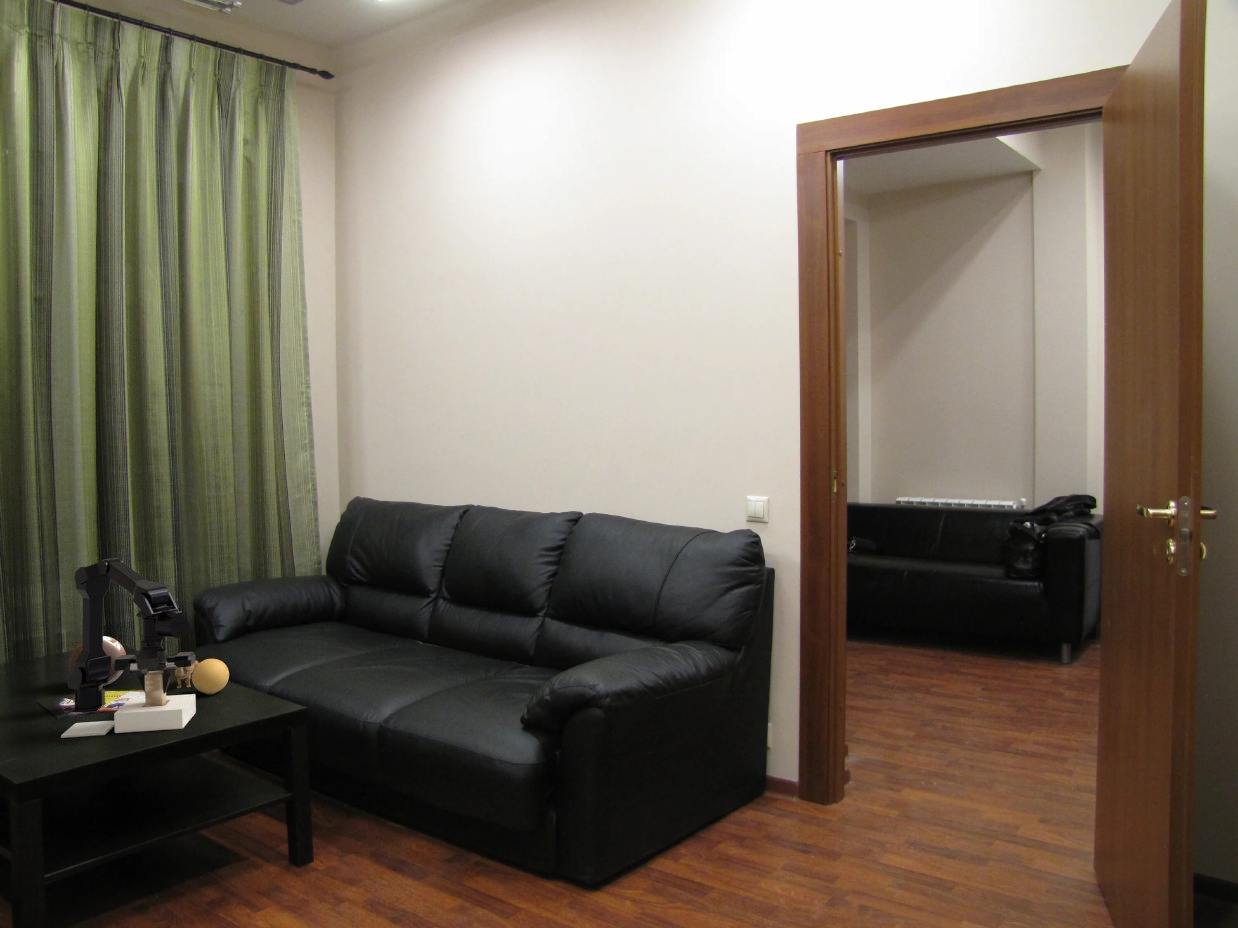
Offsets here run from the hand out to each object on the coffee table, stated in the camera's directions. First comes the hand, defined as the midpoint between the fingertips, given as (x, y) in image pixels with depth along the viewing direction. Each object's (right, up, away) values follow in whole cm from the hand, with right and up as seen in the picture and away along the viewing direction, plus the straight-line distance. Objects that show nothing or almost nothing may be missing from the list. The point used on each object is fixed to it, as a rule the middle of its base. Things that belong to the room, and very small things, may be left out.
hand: (155, 693), depth 247 cm
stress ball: (+3, -7, +27) cm, 28 cm away
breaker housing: (0, -8, 0) cm, 8 cm away
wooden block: (0, -4, 0) cm, 4 cm away
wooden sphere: (-35, -7, +36) cm, 50 cm away
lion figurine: (-8, -7, +37) cm, 38 cm away
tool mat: (-14, -8, -6) cm, 17 cm away
